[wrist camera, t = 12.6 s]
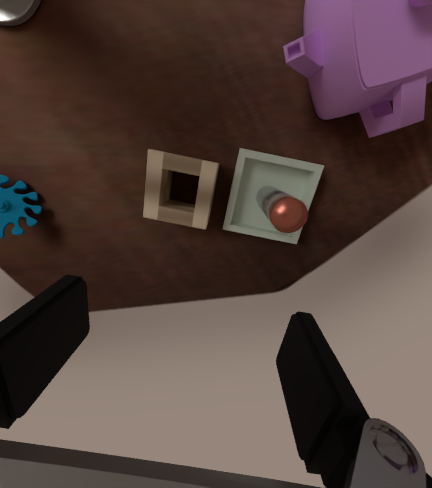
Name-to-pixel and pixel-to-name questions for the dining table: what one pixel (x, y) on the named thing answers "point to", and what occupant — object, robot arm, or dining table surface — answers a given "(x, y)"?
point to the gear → (15, 206)
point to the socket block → (160, 188)
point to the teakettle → (366, 60)
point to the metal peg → (282, 209)
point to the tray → (267, 174)
